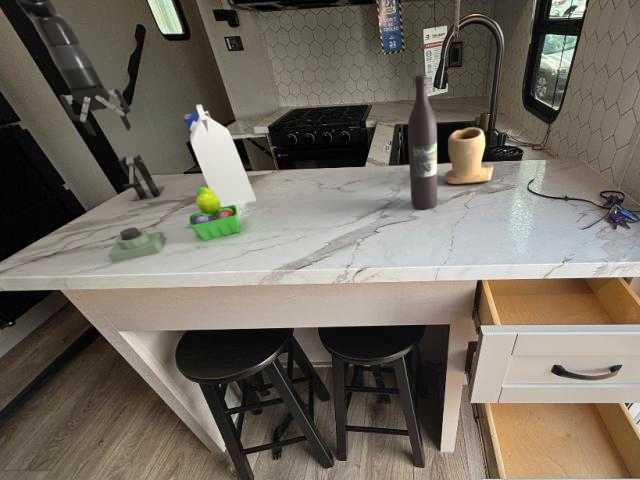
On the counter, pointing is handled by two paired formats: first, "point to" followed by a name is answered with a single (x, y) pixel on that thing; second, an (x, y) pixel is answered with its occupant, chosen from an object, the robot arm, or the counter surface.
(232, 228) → the fruit basket
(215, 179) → the milk
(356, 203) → the counter surface
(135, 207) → the counter surface
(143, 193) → the bracket
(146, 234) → the control block
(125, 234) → the button
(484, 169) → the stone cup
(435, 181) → the wine bottle
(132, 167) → the lever
